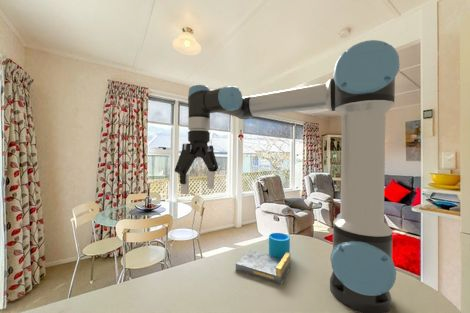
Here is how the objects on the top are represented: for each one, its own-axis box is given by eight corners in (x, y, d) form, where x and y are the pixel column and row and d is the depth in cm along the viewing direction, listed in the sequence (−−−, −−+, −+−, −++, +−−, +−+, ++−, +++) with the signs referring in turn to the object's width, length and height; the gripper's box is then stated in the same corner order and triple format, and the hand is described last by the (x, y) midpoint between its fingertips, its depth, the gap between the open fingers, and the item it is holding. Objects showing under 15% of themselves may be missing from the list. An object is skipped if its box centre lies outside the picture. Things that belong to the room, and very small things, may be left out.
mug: (293, 261, 78) (293, 240, 78) (272, 262, 77) (272, 241, 77) (281, 247, 90) (281, 229, 90) (263, 248, 89) (263, 229, 89)
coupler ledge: (290, 266, 74) (290, 252, 74) (280, 285, 63) (280, 269, 63) (250, 255, 82) (250, 243, 82) (235, 270, 71) (235, 256, 71)
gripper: (211, 134, 85) (211, 186, 85) (163, 127, 63) (162, 195, 63) (227, 133, 81) (226, 187, 81) (180, 125, 59) (180, 198, 59)
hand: (198, 191), depth 72 cm, fingers open, 13 cm apart
